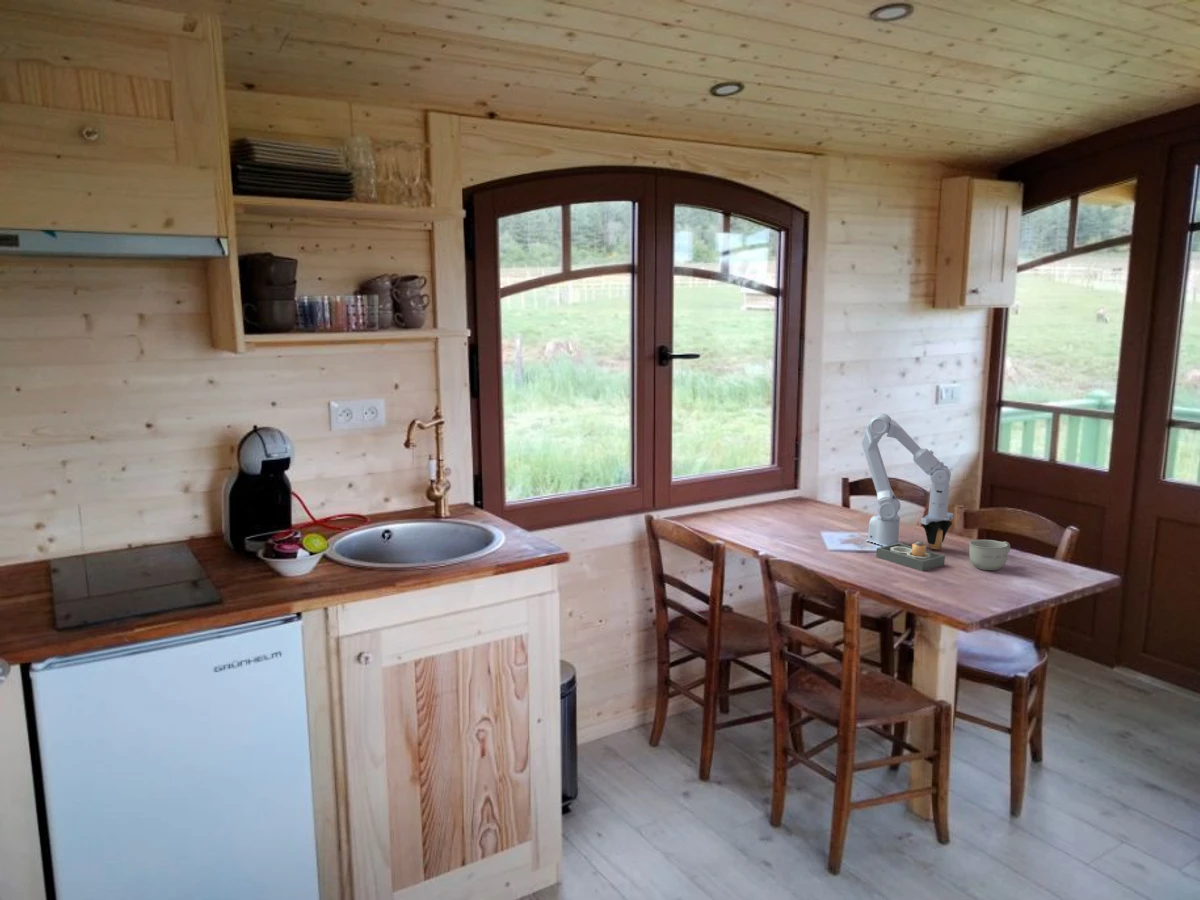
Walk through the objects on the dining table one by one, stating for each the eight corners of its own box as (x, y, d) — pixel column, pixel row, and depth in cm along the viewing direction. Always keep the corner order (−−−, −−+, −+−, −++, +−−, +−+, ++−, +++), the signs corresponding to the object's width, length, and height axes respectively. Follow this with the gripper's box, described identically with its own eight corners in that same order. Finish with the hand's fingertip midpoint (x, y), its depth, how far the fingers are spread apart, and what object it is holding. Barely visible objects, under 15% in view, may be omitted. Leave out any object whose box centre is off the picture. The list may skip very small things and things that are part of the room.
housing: (876, 557, 266) (877, 536, 264) (898, 551, 272) (899, 531, 270) (922, 571, 252) (923, 549, 250) (944, 565, 258) (945, 544, 256)
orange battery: (925, 546, 275) (927, 527, 273) (933, 545, 277) (935, 525, 276) (936, 549, 271) (938, 529, 270) (944, 548, 274) (945, 528, 272)
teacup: (982, 574, 249) (984, 548, 248) (959, 563, 260) (961, 538, 258) (1022, 571, 252) (1025, 546, 251) (999, 561, 262) (1001, 536, 261)
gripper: (935, 507, 264) (932, 548, 267) (963, 502, 272) (959, 542, 274) (916, 503, 270) (913, 543, 272) (943, 498, 278) (940, 537, 280)
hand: (935, 542), depth 274 cm, fingers closed on orange battery, 4 cm apart
